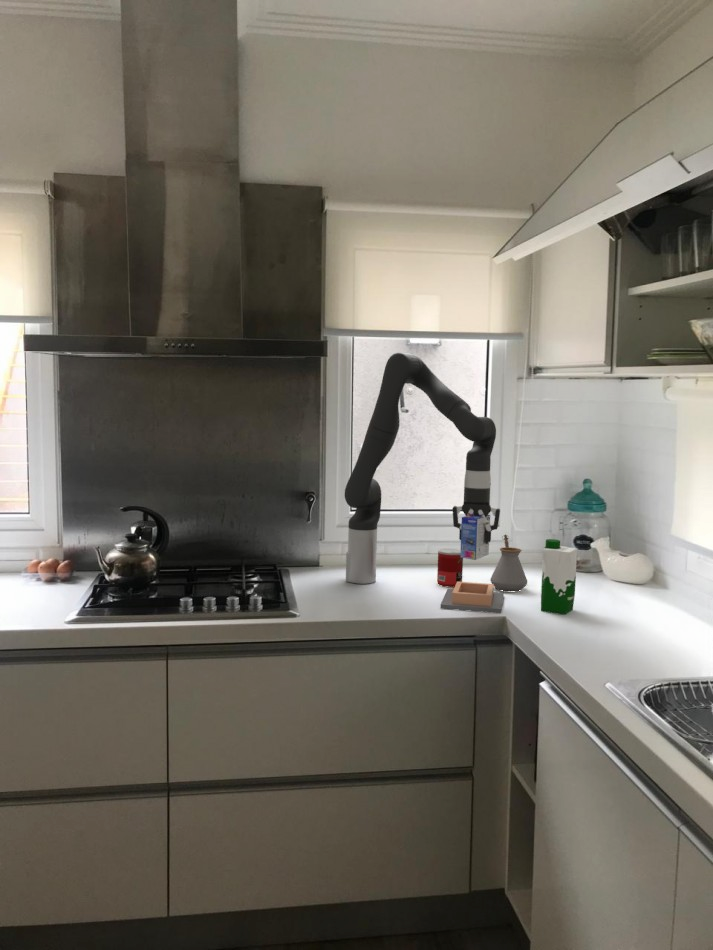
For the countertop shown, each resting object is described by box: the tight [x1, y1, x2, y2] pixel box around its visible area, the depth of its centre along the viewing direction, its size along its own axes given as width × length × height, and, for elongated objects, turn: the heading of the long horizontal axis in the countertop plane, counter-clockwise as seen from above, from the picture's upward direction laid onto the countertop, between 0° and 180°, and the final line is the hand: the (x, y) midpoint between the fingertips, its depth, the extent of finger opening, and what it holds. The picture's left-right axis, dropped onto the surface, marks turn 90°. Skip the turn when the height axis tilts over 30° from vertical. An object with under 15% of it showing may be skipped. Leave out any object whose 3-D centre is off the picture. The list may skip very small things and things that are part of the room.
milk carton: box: [540, 538, 578, 616], centre depth 237 cm, size 9×9×20 cm
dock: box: [439, 581, 505, 614], centre depth 244 cm, size 17×20×4 cm
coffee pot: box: [490, 534, 528, 592], centre depth 266 cm, size 21×12×15 cm, turn 176°
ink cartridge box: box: [460, 508, 491, 561], centre depth 243 cm, size 10×6×14 cm, turn 149°
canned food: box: [436, 548, 464, 588], centre depth 266 cm, size 8×8×11 cm
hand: (475, 542), depth 243 cm, fingers closed on ink cartridge box, 6 cm apart
